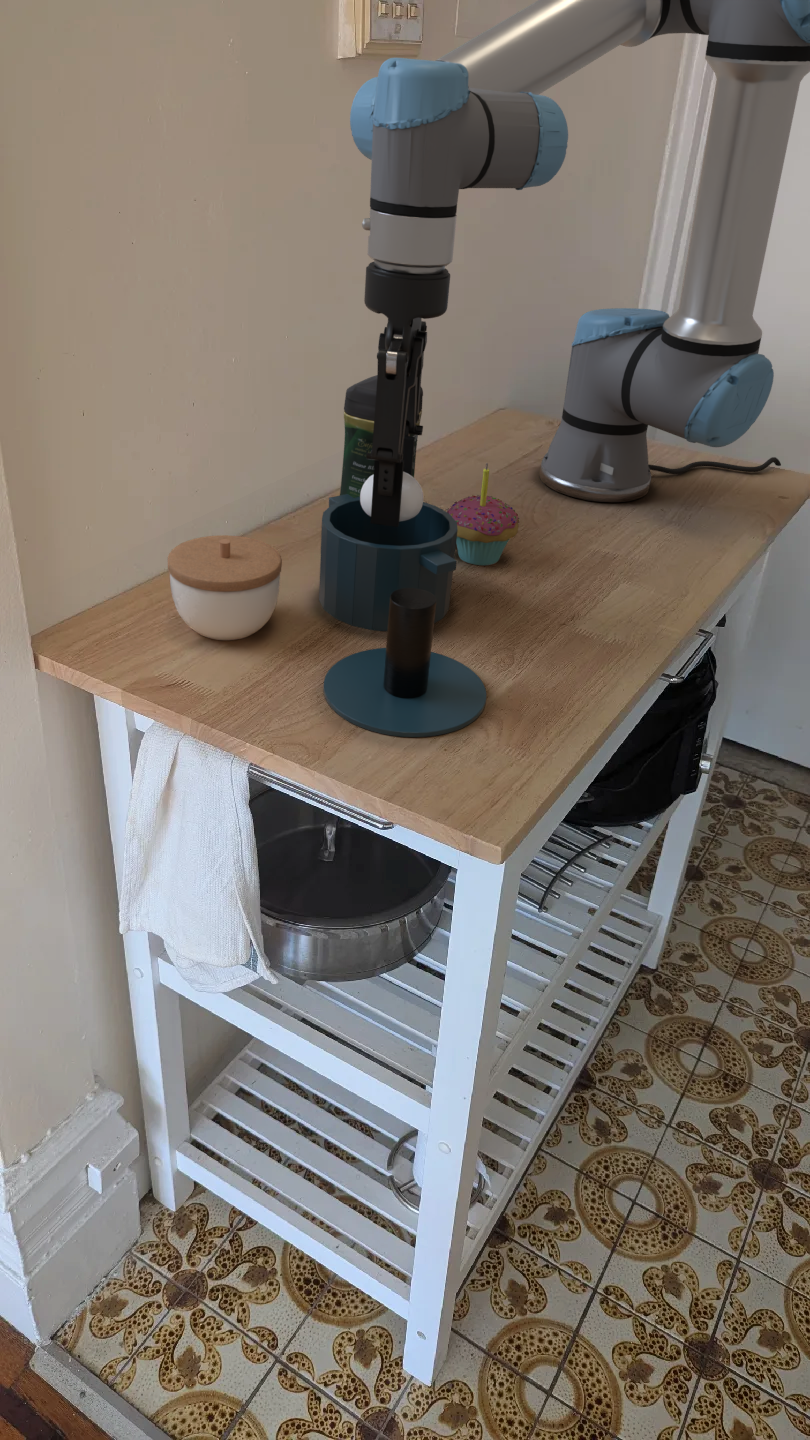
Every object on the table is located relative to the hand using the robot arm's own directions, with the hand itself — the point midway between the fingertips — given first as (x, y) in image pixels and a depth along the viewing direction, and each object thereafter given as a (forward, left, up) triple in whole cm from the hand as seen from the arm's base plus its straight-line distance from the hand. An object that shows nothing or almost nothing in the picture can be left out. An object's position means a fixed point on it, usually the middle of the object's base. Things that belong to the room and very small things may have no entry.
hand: (390, 510), depth 106 cm
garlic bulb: (0, 0, -1) cm, 1 cm away
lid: (+9, +16, -10) cm, 21 cm away
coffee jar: (-10, -16, -11) cm, 22 cm away
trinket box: (+17, -3, -11) cm, 20 cm away
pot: (0, 0, -11) cm, 11 cm away
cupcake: (-17, -5, -11) cm, 21 cm away
